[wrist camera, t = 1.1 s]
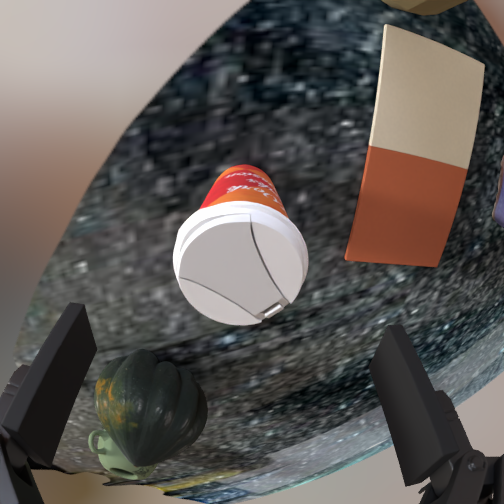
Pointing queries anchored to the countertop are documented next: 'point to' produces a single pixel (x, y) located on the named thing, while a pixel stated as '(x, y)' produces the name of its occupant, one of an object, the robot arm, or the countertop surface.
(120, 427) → the squash
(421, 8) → the squeeze bottle
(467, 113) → the board
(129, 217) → the countertop surface
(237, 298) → the paper cup
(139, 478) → the mug
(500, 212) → the flask
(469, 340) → the countertop surface
